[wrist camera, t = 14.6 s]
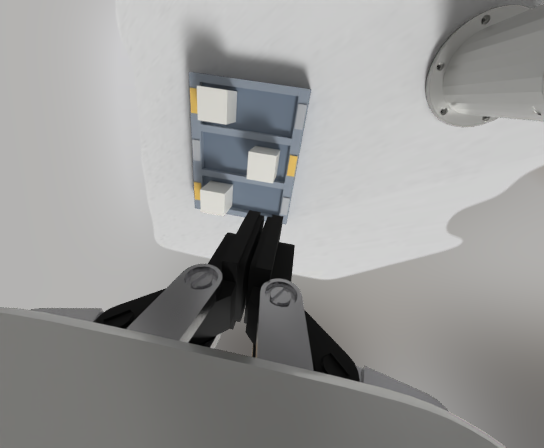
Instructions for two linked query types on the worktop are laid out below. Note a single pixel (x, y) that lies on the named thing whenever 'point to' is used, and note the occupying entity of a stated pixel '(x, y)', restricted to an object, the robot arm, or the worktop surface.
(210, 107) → the tab
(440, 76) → the robot arm
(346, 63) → the worktop surface
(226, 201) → the tab
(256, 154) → the tab
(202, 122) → the switch bank
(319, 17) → the worktop surface
